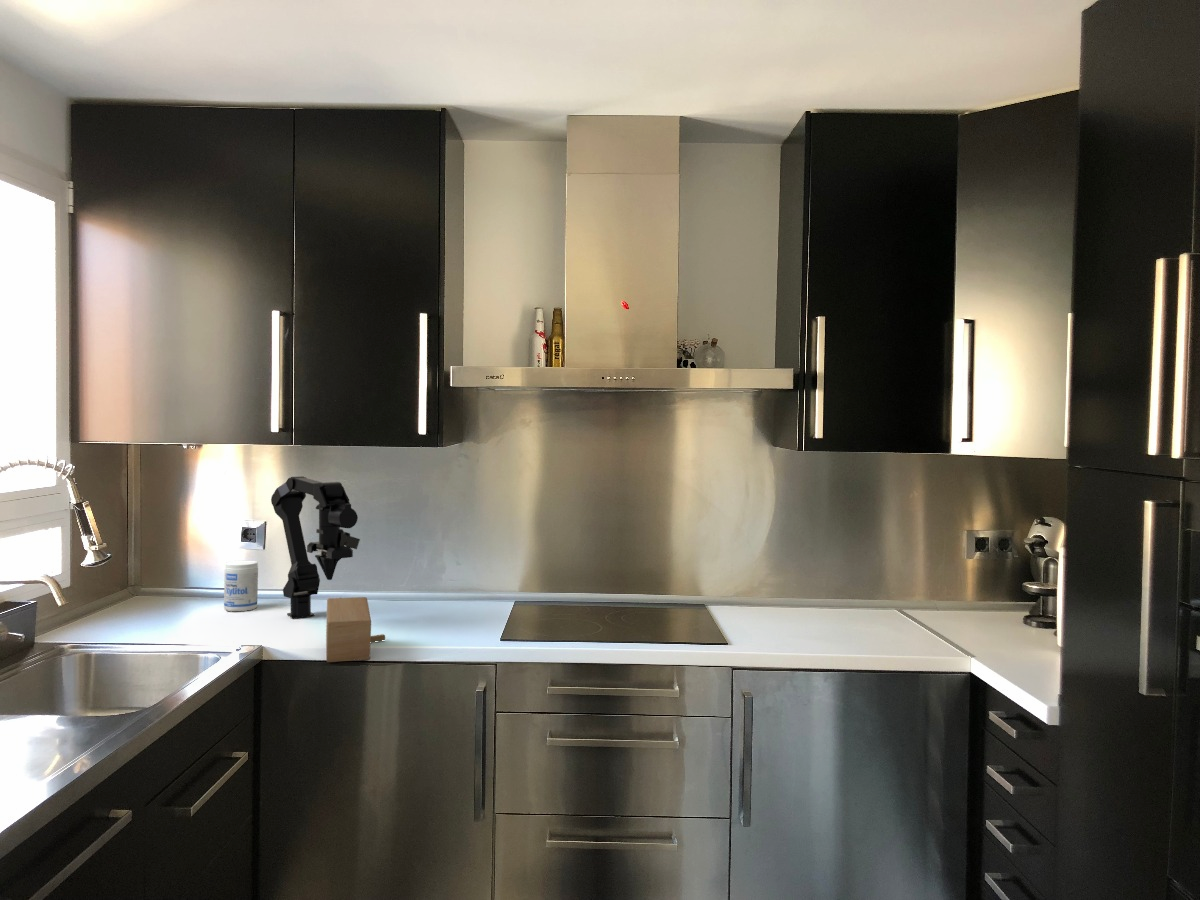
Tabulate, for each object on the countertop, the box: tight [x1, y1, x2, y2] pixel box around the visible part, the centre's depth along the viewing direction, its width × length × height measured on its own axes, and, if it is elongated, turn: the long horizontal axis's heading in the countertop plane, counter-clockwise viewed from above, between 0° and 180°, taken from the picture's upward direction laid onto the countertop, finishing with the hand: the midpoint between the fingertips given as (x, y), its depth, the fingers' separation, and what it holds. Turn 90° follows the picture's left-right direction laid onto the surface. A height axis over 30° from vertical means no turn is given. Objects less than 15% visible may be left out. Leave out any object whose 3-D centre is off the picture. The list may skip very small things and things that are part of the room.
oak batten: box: [371, 633, 386, 643], centre depth 203 cm, size 2×14×2 cm, turn 125°
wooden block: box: [325, 596, 372, 663], centre depth 195 cm, size 10×10×20 cm
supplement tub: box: [223, 560, 259, 612], centre depth 243 cm, size 10×10×15 cm
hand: (329, 579), depth 223 cm, fingers closed
